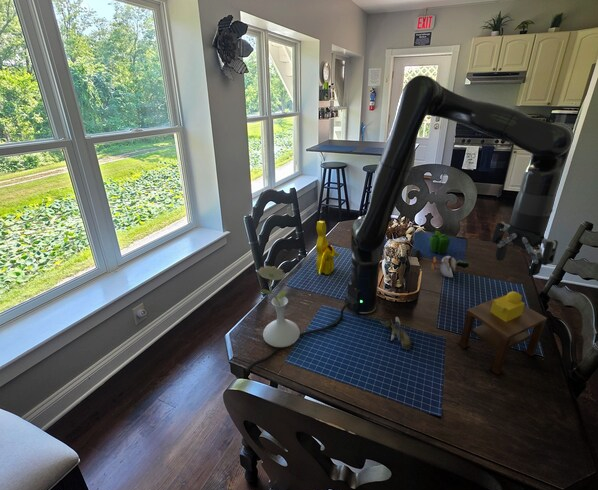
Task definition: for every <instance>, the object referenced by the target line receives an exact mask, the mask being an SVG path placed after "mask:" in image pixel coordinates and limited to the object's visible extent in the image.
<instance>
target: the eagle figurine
mask: <svg viewBox="0 0 598 490" xmlns="http://www.w3.org/2000/svg"><path fill="white" fill-rule="evenodd" d="M394 320H395V324H393V320H392V318H390V321H389V320H388V319H387V320H386V321H385V322H384V321H382V320H380V323H381V324H382V325H384V326H386V327H387V329H388V331H391V337H390V341H394V339H395V337H396V338H397V342H401V343H400V344H401V347H402V349H404V350H410V349H411V348H412V345H413V341H412V338H411V337H410V335H409V334H408V332H406V330H404V329H403V328H402V327H401V321H400V318H399V317H398V316H395V319H394Z"/></svg>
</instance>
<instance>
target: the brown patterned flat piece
mask: <svg viewBox="0 0 598 490" xmlns="http://www.w3.org/2000/svg"><path fill="white" fill-rule="evenodd" d="M386 241H387V240H386V239H384V242H383V243H382V245H381V246H380V247H379V255H380V259H382V255H383V248H384V245H385V243H386ZM412 248H413V250H412V257H417V258H418V260H419V259H420V258H421V255H422V253H421V251H420V249H417V248H414V247H412Z"/></svg>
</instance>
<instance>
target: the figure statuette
mask: <svg viewBox="0 0 598 490" xmlns="http://www.w3.org/2000/svg"><path fill="white" fill-rule="evenodd" d="M316 233H317V239H316V245H315V251H316V263H315V264H316V271H317V272H318V275H322V273H323V274H325V275H331V274H332V273H333V272H334V270H335V259H334V258H339V257H340V254H339V253H338V252H337V251H336V250H335V247H334V245H331V244H329V239H328V238H327V235H326V233H327V224H326V221H325V220H319V221H317V222H316Z"/></svg>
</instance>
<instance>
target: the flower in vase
mask: <svg viewBox="0 0 598 490" xmlns="http://www.w3.org/2000/svg"><path fill="white" fill-rule="evenodd" d="M257 274H259V276H261V277H262V278H264V279H266V280H269V290H268V289H265V288H263V289H260V290H259V293H263V294H266V295H272V296H273V298H272V299H271V300H270V301H271V302H270V303H271V304H272V306H273V307H274V309H275V312H276V319H274V320H273V321H271V322H269V323H268V324H267V325H266V326H265V327H264V330H263V333H262V337H263V340H264V341H265V342H266V343H267V344H268V345H269V346H271V347H274V348H277V347H280V349H281V348H286V347H290V346H292V345H294V344H295V343H296V342H297V341H298V339H299V338H300V337H299V335H300V334H301V330H300V328H299V326H298V324H296V323H295V322H294V321H292V320H291V319H286V318H285V308H286V306H287V304H288V303H289V299H288V298H287V297H286V295H287V294H288V293H289V292H288V290H281V291H279V292H278V294H277V295H276V294H275V293H274V292H273V290H272V281H280V280H283V279H284V278H285V276H286V274H285V272H284V269H281V268H277V267H276V266H275V265H273V266H271V265H264V266H260V268H258V271H257Z"/></svg>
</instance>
